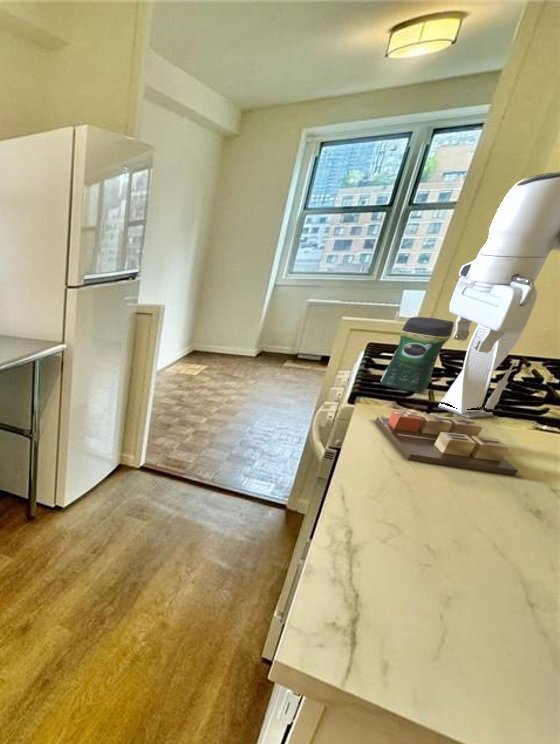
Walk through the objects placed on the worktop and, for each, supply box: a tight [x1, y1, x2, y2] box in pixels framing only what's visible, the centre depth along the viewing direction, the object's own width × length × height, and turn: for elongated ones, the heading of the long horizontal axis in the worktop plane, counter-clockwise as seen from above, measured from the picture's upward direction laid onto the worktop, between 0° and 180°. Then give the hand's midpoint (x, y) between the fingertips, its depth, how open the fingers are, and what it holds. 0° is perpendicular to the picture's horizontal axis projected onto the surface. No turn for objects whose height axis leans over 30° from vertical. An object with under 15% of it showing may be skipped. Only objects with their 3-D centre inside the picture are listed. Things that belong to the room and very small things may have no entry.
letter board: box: [375, 416, 519, 477], centre depth 100 cm, size 16×20×1 cm
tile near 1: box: [448, 416, 483, 438], centre depth 101 cm, size 4×4×3 cm
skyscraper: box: [437, 303, 536, 419], centre depth 110 cm, size 8×8×28 cm
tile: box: [434, 432, 476, 457], centre depth 94 cm, size 4×4×3 cm
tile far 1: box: [471, 435, 510, 462], centre depth 93 cm, size 4×4×3 cm
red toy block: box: [388, 409, 423, 432], centre depth 104 cm, size 5×4×3 cm
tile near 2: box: [418, 413, 452, 435], centre depth 103 cm, size 4×4×3 cm
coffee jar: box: [380, 316, 455, 393], centre depth 127 cm, size 10×8×19 cm
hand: (469, 345), depth 96 cm, fingers open, 8 cm apart
